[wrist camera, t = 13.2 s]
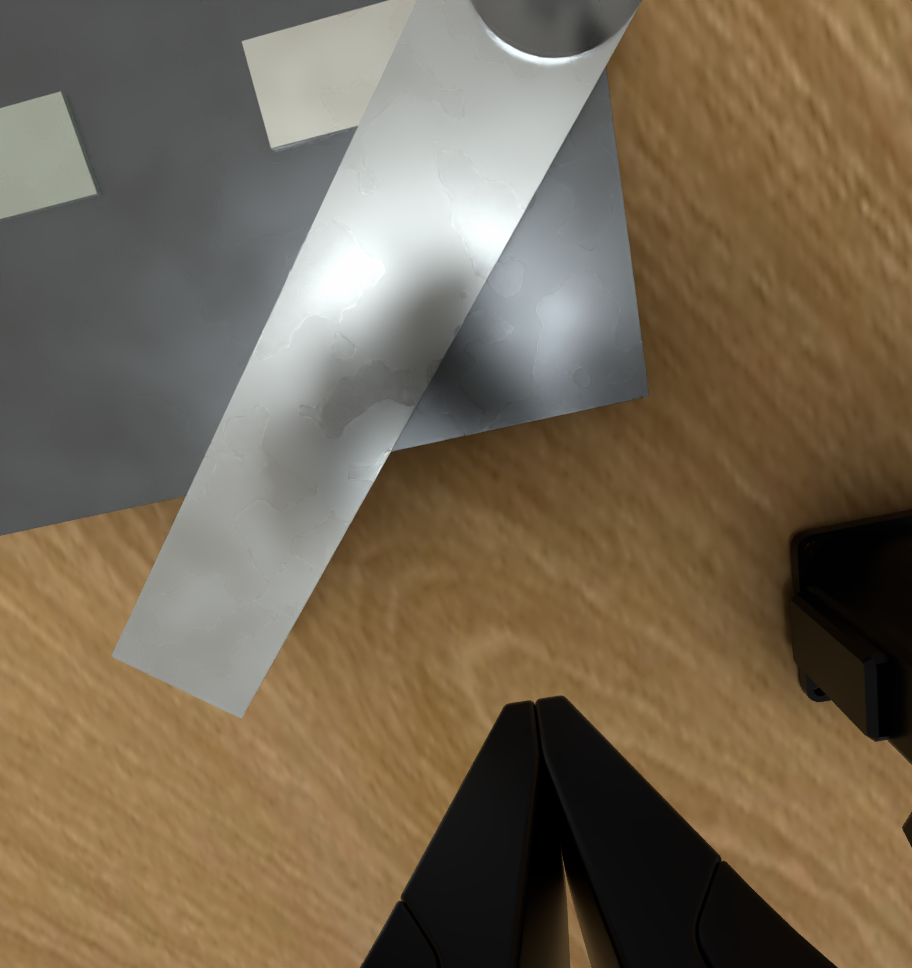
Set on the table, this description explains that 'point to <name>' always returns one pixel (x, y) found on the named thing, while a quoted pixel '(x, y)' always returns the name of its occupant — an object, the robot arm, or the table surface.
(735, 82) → the table surface
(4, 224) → the label panel
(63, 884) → the table surface
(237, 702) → the metal bar
